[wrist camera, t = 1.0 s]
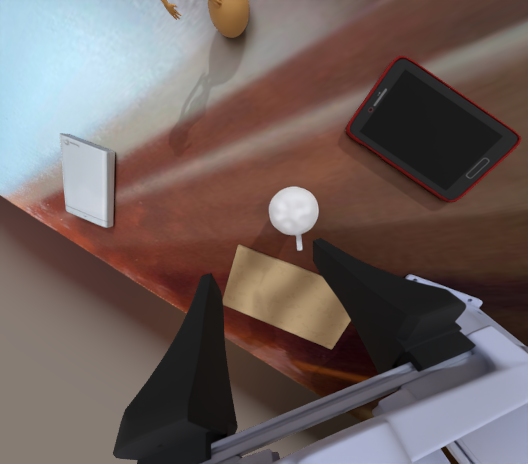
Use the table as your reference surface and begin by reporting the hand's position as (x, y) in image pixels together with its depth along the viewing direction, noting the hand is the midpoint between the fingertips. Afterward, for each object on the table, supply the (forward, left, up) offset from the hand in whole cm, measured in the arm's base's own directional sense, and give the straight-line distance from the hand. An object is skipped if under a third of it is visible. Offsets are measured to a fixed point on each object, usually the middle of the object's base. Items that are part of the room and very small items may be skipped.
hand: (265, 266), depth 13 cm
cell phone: (-11, -14, -14) cm, 22 cm away
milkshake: (-1, -3, -14) cm, 14 cm away
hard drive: (+31, +5, -14) cm, 35 cm away
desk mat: (-5, +12, -14) cm, 19 cm away
